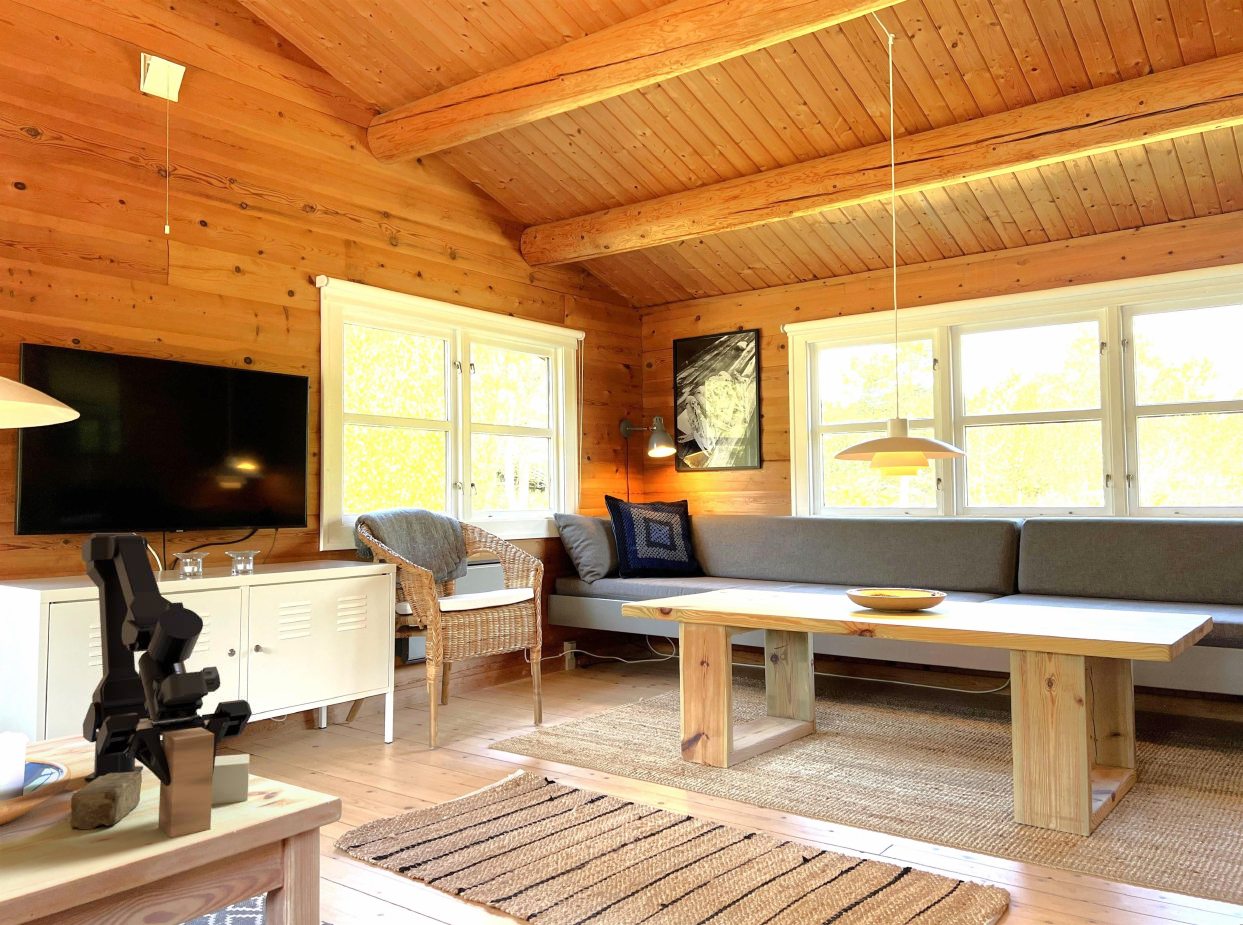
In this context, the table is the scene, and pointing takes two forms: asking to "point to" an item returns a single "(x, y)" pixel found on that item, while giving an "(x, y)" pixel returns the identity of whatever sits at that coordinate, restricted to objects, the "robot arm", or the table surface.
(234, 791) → the sage cube
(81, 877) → the table surface
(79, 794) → the stone block
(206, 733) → the oak pillar
